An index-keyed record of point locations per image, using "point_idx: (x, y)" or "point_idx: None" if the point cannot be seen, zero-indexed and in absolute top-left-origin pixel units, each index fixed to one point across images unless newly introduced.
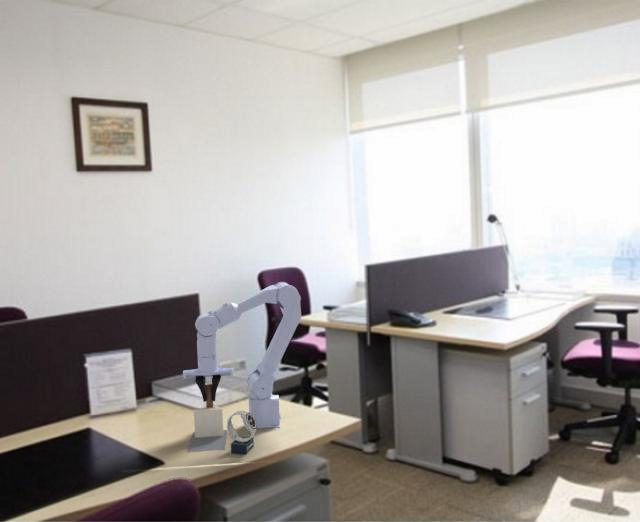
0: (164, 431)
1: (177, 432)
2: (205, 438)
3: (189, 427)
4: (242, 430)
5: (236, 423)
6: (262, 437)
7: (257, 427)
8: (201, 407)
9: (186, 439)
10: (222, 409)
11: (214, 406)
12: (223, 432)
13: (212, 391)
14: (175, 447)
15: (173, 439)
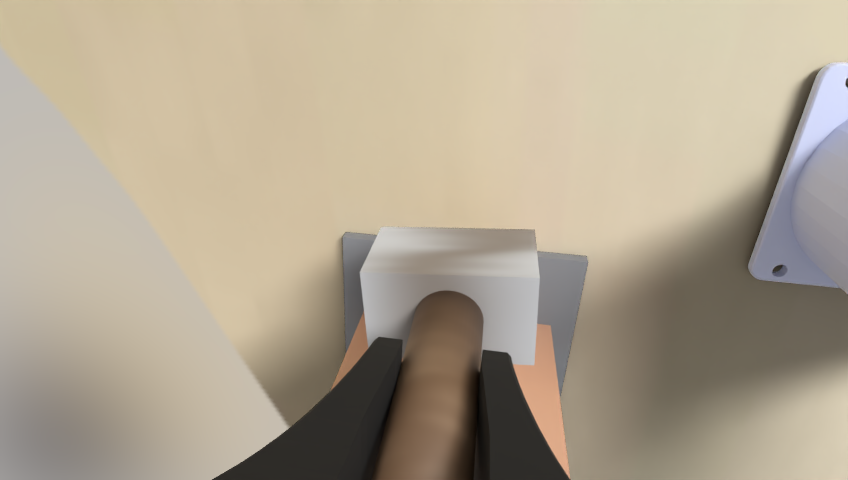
0: (133, 139)
1: (230, 182)
2: None
3: (296, 99)
4: (698, 264)
5: (687, 99)
6: (797, 409)
7: (827, 286)
8: (362, 284)
9: (315, 312)
10: (567, 468)
11: (496, 291)
12: (551, 334)
13: (473, 468)
14: (276, 397)
15: (236, 292)
